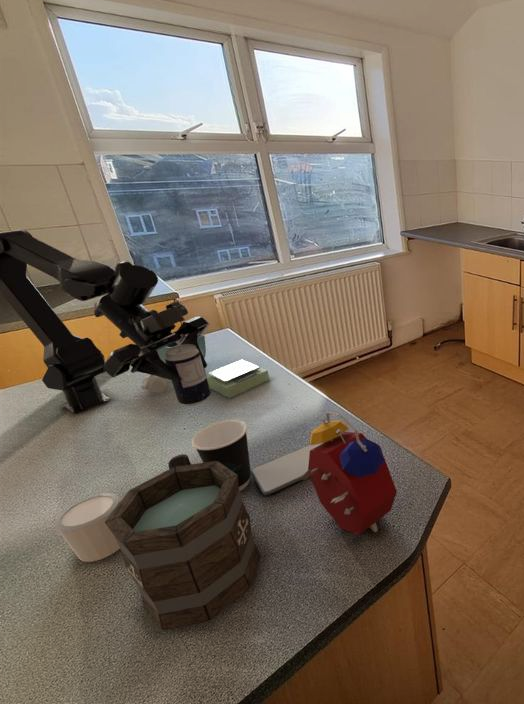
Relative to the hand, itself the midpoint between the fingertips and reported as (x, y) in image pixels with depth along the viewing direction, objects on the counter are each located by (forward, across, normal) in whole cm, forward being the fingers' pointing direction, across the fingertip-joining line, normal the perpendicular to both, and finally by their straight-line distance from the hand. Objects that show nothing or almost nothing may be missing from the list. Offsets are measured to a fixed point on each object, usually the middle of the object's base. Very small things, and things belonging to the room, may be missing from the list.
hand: (193, 373), depth 88 cm
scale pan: (+1, +16, +12) cm, 20 cm away
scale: (+4, +16, +14) cm, 21 cm away
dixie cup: (+22, -14, -5) cm, 27 cm away
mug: (+28, -28, -11) cm, 41 cm away
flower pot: (-9, +19, +27) cm, 34 cm away
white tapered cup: (+16, -29, +1) cm, 33 cm away
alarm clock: (+40, -16, -23) cm, 48 cm away
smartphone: (+28, -7, -11) cm, 31 cm away
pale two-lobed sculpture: (-8, +9, +26) cm, 28 cm away
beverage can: (+4, 0, +6) cm, 7 cm away
